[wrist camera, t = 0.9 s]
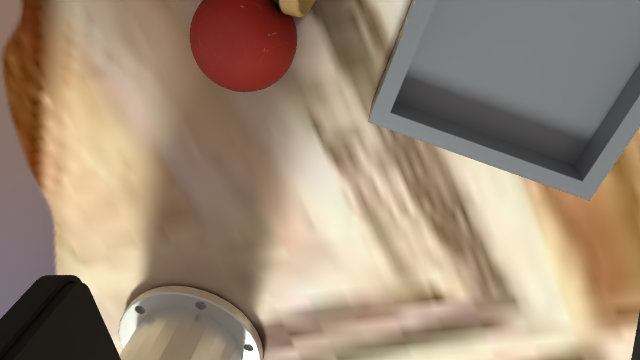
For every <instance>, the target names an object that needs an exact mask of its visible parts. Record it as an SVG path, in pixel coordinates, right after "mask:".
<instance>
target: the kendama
mask: <svg viewBox="0 0 640 360" xmlns="http://www.w3.org/2000/svg"><path fill="white" fill-rule="evenodd" d="M314 2H315V0H203V1H202V3H201V4H200V5H199V7H198V8H197V10H196V12H195V14H194V16H193V19H192V22H191V28H190V43H191V49H192V52H193V56H194V58H195V60H196V62H197V64H198V66H199V67H200V69H201V70H202V71H203V73H204V74H205V75H206V76H207V77H208V78H209V79H210V80H212V81H213V82H215V83H216V84H218V85H220V86H222V87H224V88H227V89H230V90H234V91H239V92H251V91H257V90H261V89H264V88H266V87H269V86H271V85H272V84H274V83H275V82H277V81H278V80H279V79H280V78H281V77H282V76H283V75H284V74H285V73H286V71H287V70H288V68H289V67H290V65H291V63H292V61H293V58H294V55H295V52H296V46H297V32H296V26H295V23H294V20H293V17H292V16H295V17H303V16H305V15H306V14H307V13H308V12H309V11H310V9H311V8H312V6H313V4H314Z"/></svg>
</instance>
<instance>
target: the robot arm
mask: <svg viewBox="0 0 640 360" xmlns="http://www.w3.org/2000/svg"><path fill="white" fill-rule="evenodd" d="M119 339H120V343H121V346H122V349H123V350H122V352H121V354H120V355H119V354H118V352H117V349H116V347H115V345H114V343H113V340H112V338H111V336H110V334H109V332H108V329H107V327H106V325H105V323H104V321H103V318H102V316H101V314H100V312H99V309H98V307H97V305H96V303H95V301H94V298H93V296H92V294H91V292H90V289H89V288H88V286H87V285H86V284H84V283H82V282H81V280H80V279H79V278H78V277H77V276H74V275H46V276H42V277H40V278H39V279H38V280H36V282H35V283H34V284H33V285H32V286H31V287H30V288H29V289H28V290H27V291H26V292H25V293H24V294H23V295H22V296H21V298H20V299H19V300H18V301H17V302H16V303H15V304H14V305H13V306H12V308H10V309H9V310H8V312H7V313H6V314H5V315H4V316H3V317H2V318H1V319H0V360H262V359H263V349H262V343H261V340H260V338H259V335H258V333H257V331H256V329H255V328H254V326H253V325H252V323H251V322H250V321H249V319H248V318H247V317H246V316H245V315H244V314H243V313H242V312H241V311H240V310H238V309H237V308H236V307H234V306H233V305H232V304H230V303H229V302H227V301H226V300H224V299H222V298H220V297H218V296H217V295H214V294H211V293H209V292H206V291H204V290H200V289H196V288H192V287H185V286H163V287H158V288H154V289H151V290H148V291H146V292H144V293H142V294H140V295H139V296H138V297H137V298H135V299H134V300H133V301H132V302H131V304H130V305H129V306H128V308H127V309H126V310H125V312H124V314H123V316H122V318H121V320H120V325H119ZM631 360H640V313H639V319H638V324H637V330H636V336H635V341H634V347H633V353H632V358H631Z"/></svg>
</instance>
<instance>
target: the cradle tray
mask: <svg viewBox="0 0 640 360" xmlns="http://www.w3.org/2000/svg"><path fill="white" fill-rule="evenodd" d="M368 122H370V123H373V124H376V125H378V126H381V127H384V128H387V129H390V130H392V131H395V132H398V133H401V134H404V135H406V136H409V137H412V138H415V139H418V140H420V141H423V142H426V143H429V144H432V145H434V146H437V147H440V148H443V149H446V150H448V151H451V152H454V153H457V154H460V155H462V156H465V157H468V158H471V159H474V160H476V161H479V162H482V163H485V164H488V165H490V166H493V167H496V168H499V169H502V170H505V171H507V172H510V173H513V174H516V175H519V176H521V177H524V178H527V179H530V180H533V181H535V182H538V183H541V184H544V185H547V186H549V187H552V188H555V189H558V190H561V191H563V192H566V193H569V194H572V195H575V196H577V197H580V198H583V199H586V200H590V199H591V197H592V196H593V194H594V193H595V192H596V190H597V189H598V187H599V186H600V184H601V183H602V181H603V180H604V178H605V177H606V176H607V174H608V173H609V171H610V170H611V168H612V167H613V165H614V164H615V162H616V161H617V160H618V158H619V157H620V155H621V154H622V152H623V151H624V149H625V148H626V146H627V145H628V143H629V142H630V141H631V139H632V138H633V136H634V135H635V133H636V132H637V130H638V129H639V127H640V0H412V2H411V5H410V7H409V10H408V12H407V15H406V18H405V20H404V23H403V25H402V28H401V30H400V33H399V36H398V38H397V41H396V43H395V46H394V48H393V51H392V53H391V56H390V59H389V61H388V64H387V66H386V69H385V71H384V74H383V77H382V79H381V82H380V84H379V87H378V89H377V92H376V94H375V97H374V100H373V102H372V105H371V110H370V114H369V119H368Z"/></svg>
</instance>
